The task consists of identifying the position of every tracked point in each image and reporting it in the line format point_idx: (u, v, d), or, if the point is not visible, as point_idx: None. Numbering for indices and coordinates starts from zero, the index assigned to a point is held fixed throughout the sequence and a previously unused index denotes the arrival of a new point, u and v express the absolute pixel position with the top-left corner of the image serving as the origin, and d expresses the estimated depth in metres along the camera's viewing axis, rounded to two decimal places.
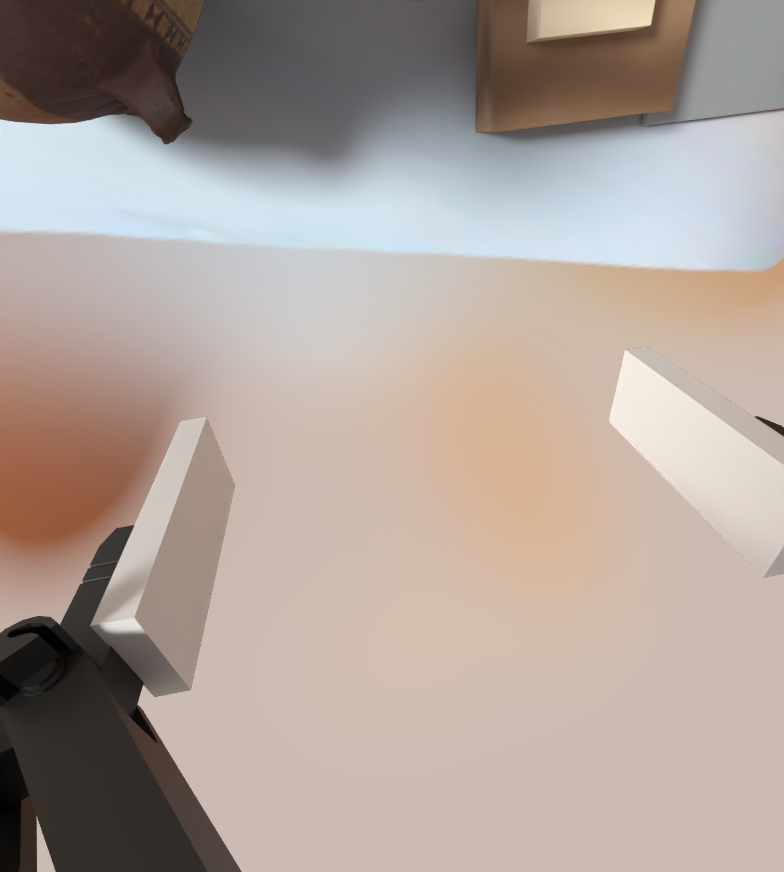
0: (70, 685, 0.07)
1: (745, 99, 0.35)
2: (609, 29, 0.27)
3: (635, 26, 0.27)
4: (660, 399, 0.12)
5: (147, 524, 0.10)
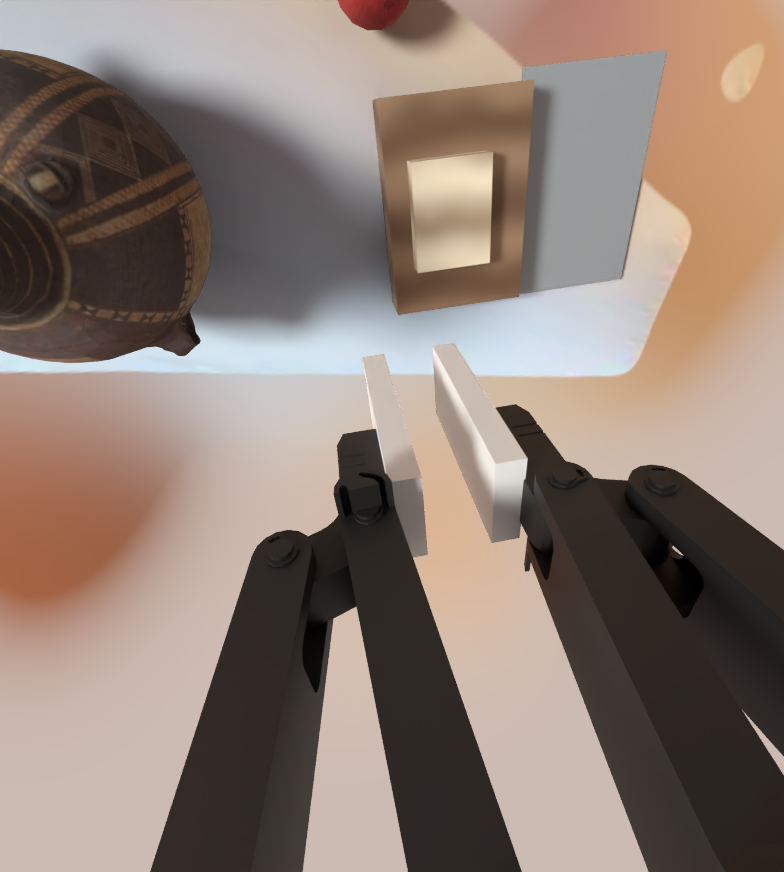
0: (385, 529, 0.09)
1: (580, 277, 0.50)
2: (463, 266, 0.42)
3: (480, 263, 0.42)
4: (447, 390, 0.14)
5: (387, 423, 0.12)
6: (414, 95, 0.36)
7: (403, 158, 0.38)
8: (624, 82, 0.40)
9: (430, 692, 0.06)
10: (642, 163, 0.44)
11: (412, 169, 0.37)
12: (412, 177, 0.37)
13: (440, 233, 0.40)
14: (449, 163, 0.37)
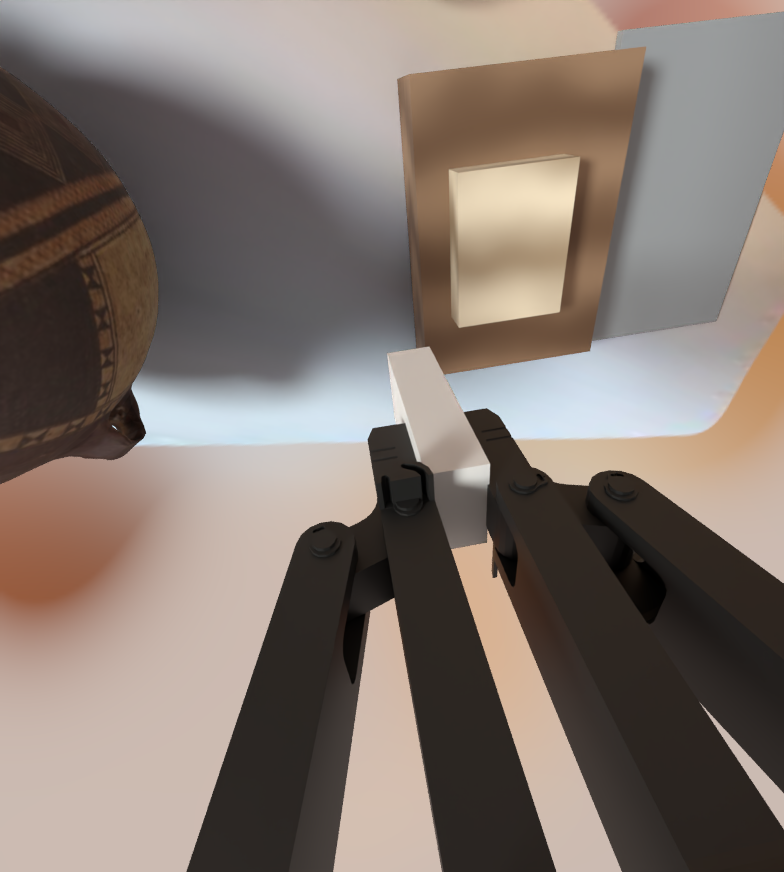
0: (424, 521, 0.09)
1: (664, 319, 0.38)
2: (522, 316, 0.30)
3: (545, 313, 0.30)
4: None
5: (418, 417, 0.12)
6: (465, 70, 0.23)
7: (443, 165, 0.26)
8: (761, 55, 0.28)
9: (467, 685, 0.06)
10: (767, 170, 0.32)
11: (459, 183, 0.25)
12: (458, 195, 0.25)
13: (494, 274, 0.28)
14: (514, 174, 0.25)
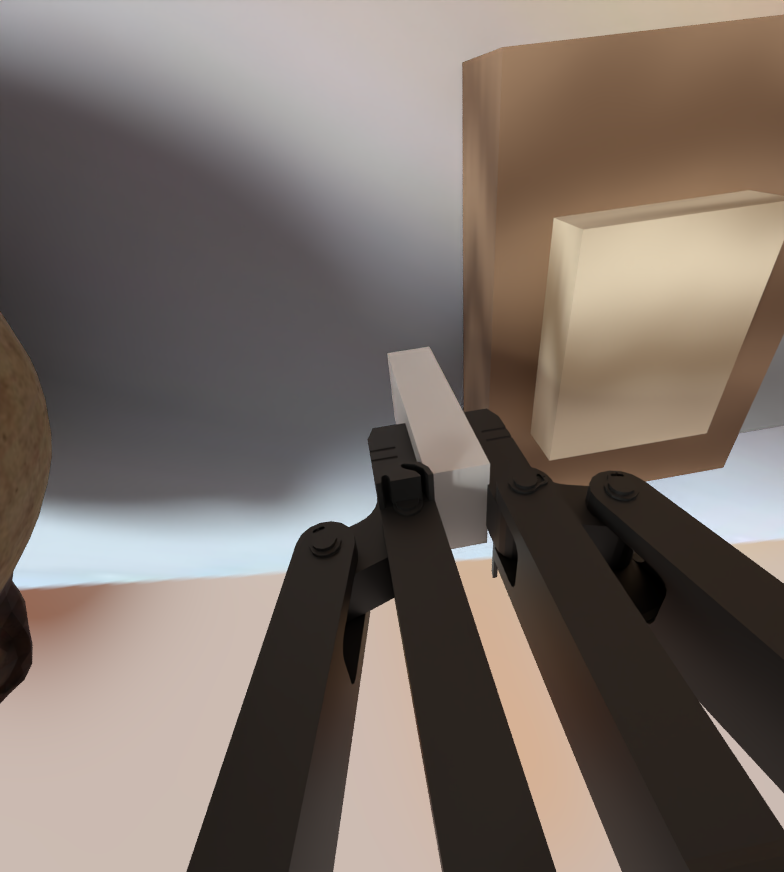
0: (424, 521, 0.09)
1: None
2: None
3: (685, 434, 0.19)
4: None
5: (418, 417, 0.12)
6: (606, 39, 0.12)
7: (545, 212, 0.15)
8: None
9: (467, 686, 0.06)
10: None
11: (582, 247, 0.14)
12: (577, 266, 0.14)
13: (617, 385, 0.17)
14: (681, 230, 0.14)
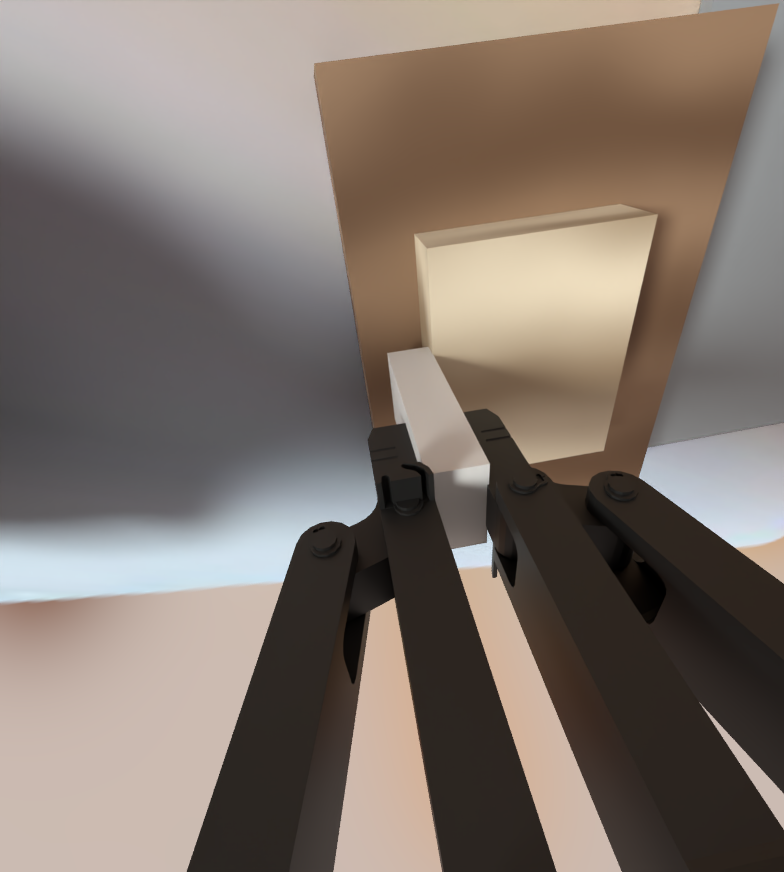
0: (424, 521, 0.09)
1: (739, 419, 0.26)
2: None
3: (581, 452, 0.18)
4: None
5: (419, 417, 0.12)
6: (425, 53, 0.12)
7: (395, 229, 0.14)
8: None
9: (467, 685, 0.06)
10: None
11: (430, 266, 0.13)
12: (430, 285, 0.13)
13: (496, 404, 0.16)
14: (534, 247, 0.13)
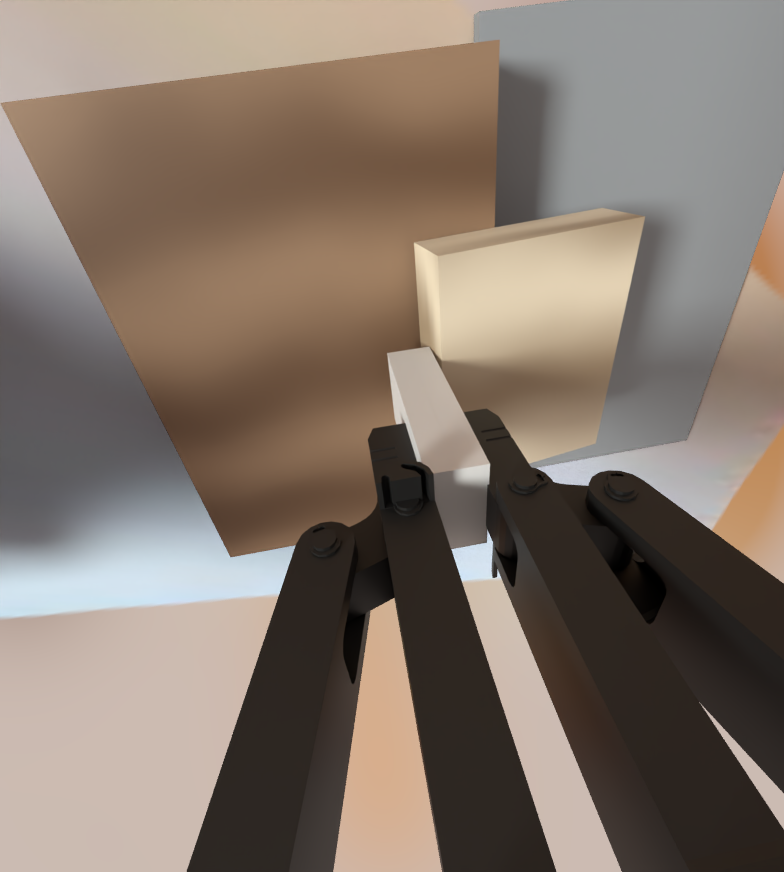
0: (424, 521, 0.09)
1: (609, 442, 0.26)
2: (542, 457, 0.19)
3: (576, 447, 0.19)
4: None
5: (418, 417, 0.12)
6: (121, 92, 0.11)
7: (143, 267, 0.14)
8: (738, 54, 0.16)
9: (467, 685, 0.06)
10: (755, 238, 0.20)
11: (441, 274, 0.13)
12: (439, 293, 0.13)
13: (501, 407, 0.16)
14: (537, 251, 0.13)
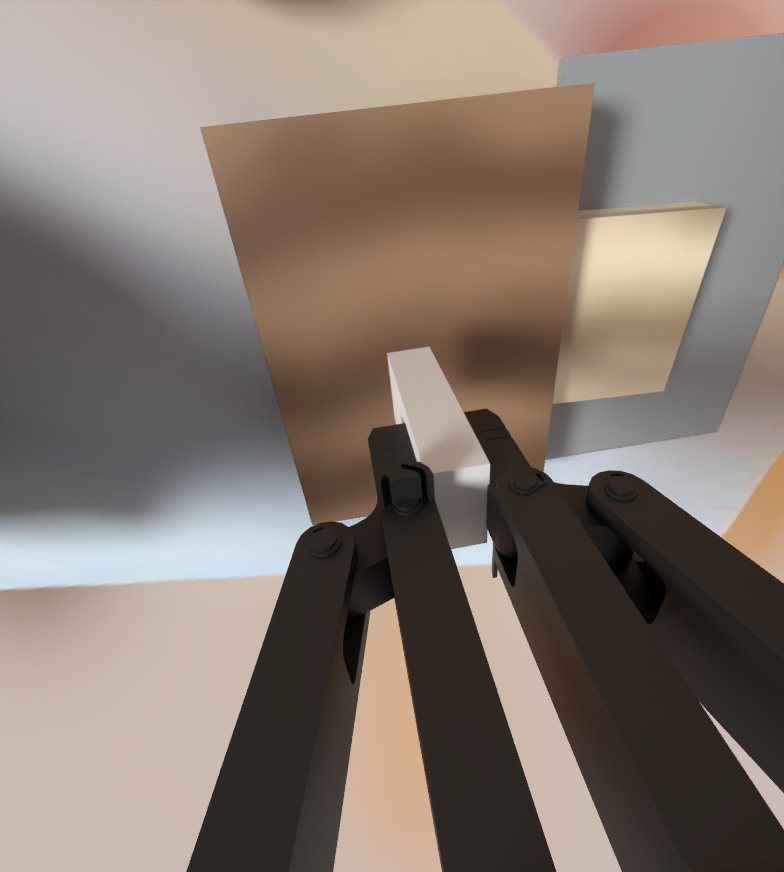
0: (424, 521, 0.09)
1: (647, 432, 0.28)
2: (618, 395, 0.24)
3: (647, 391, 0.24)
4: None
5: (418, 417, 0.12)
6: (294, 120, 0.14)
7: (285, 261, 0.17)
8: (778, 93, 0.19)
9: (466, 684, 0.06)
10: None
11: None
12: None
13: (594, 344, 0.22)
14: (641, 225, 0.19)
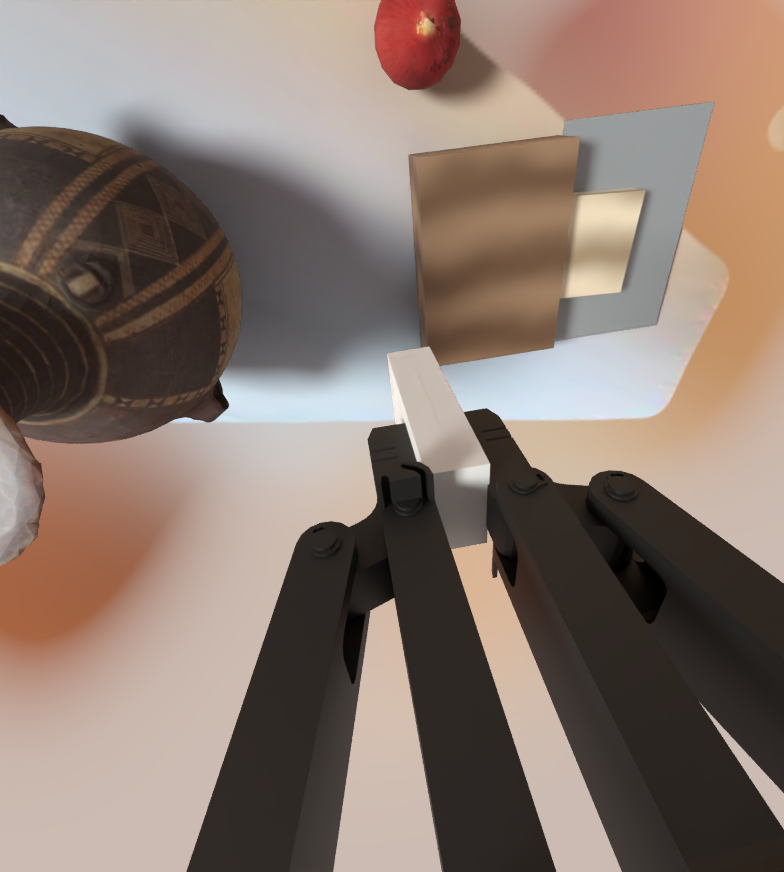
0: (424, 521, 0.09)
1: (614, 324, 0.49)
2: (595, 294, 0.44)
3: (611, 292, 0.44)
4: None
5: (418, 417, 0.12)
6: (455, 154, 0.34)
7: (441, 216, 0.37)
8: (669, 134, 0.39)
9: (466, 685, 0.06)
10: (683, 213, 0.43)
11: None
12: None
13: (581, 263, 0.42)
14: (604, 199, 0.39)
